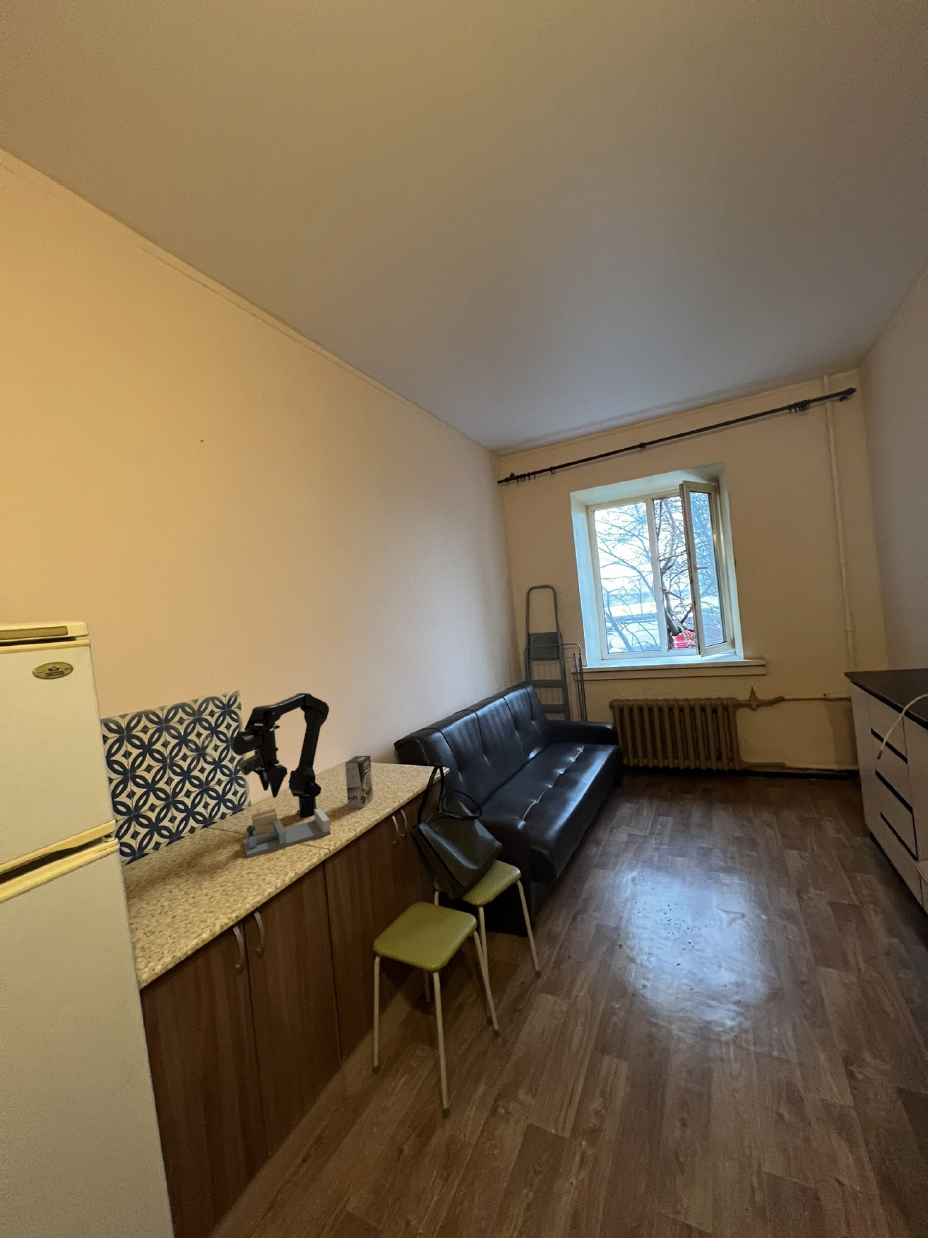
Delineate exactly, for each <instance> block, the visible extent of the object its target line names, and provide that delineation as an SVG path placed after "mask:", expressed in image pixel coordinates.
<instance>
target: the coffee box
mask: <svg viewBox="0 0 928 1238" xmlns="http://www.w3.org/2000/svg"><path fill="white" fill-rule="evenodd" d="M371 759H372V758H371V755H356V756H354V757H351V759H349V760H348V761H346V762H345V763H344V767H345V782H346V795H347V807H348V808H352V809H353V808H356V809H359V808H361V809H363V808H365V807H366V806H367V805H368V804H369V803H370V802H371V801H372V800H373V799H374V789H373V788H374V787H373V785H374V784H373V775H372V773H373V772H372V764H371V763H372V760H371Z"/></svg>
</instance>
